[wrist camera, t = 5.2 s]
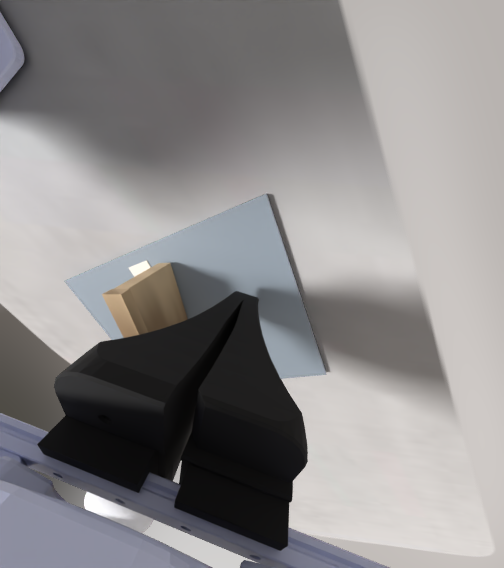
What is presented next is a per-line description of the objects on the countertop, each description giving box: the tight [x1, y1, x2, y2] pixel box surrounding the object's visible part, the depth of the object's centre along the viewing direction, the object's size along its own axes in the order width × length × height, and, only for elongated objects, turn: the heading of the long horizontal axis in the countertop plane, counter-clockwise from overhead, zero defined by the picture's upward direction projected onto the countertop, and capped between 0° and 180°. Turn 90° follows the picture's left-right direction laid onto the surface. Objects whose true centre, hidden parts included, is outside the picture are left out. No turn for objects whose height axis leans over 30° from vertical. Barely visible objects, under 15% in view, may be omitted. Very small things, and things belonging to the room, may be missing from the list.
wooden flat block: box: [102, 263, 187, 338], centre depth 11 cm, size 7×1×4 cm, turn 6°
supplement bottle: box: [84, 492, 154, 533], centre depth 16 cm, size 5×5×10 cm
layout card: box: [65, 193, 326, 379], centre depth 14 cm, size 12×16×1 cm
